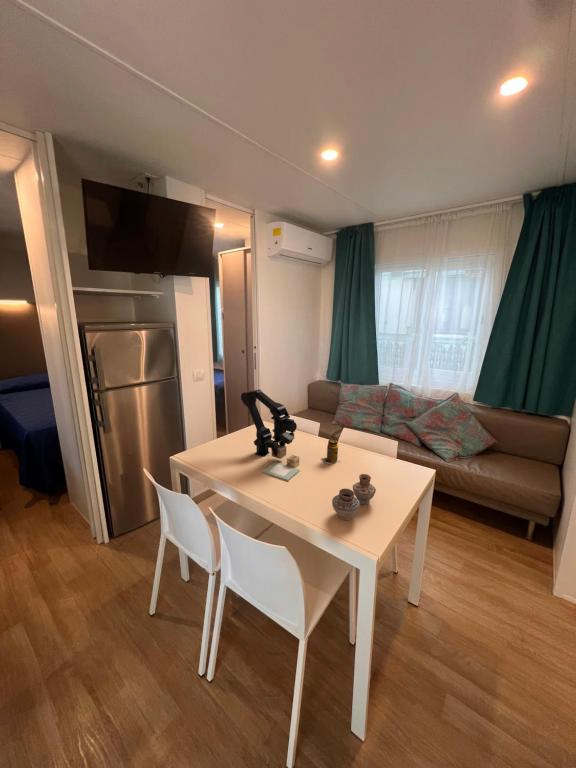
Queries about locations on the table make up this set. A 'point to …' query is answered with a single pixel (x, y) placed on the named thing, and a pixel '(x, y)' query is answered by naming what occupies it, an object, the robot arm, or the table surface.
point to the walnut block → (280, 452)
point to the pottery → (353, 498)
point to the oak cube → (293, 461)
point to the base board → (281, 471)
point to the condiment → (331, 452)
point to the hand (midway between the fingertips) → (278, 453)
